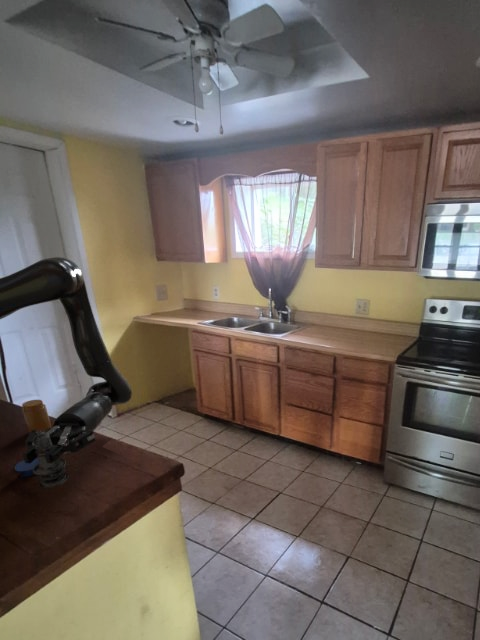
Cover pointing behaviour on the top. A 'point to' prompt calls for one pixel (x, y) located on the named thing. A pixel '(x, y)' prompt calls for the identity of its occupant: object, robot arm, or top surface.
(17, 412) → the top surface
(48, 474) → the grey metal fitting
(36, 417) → the jar
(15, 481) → the top surface
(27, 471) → the lid
